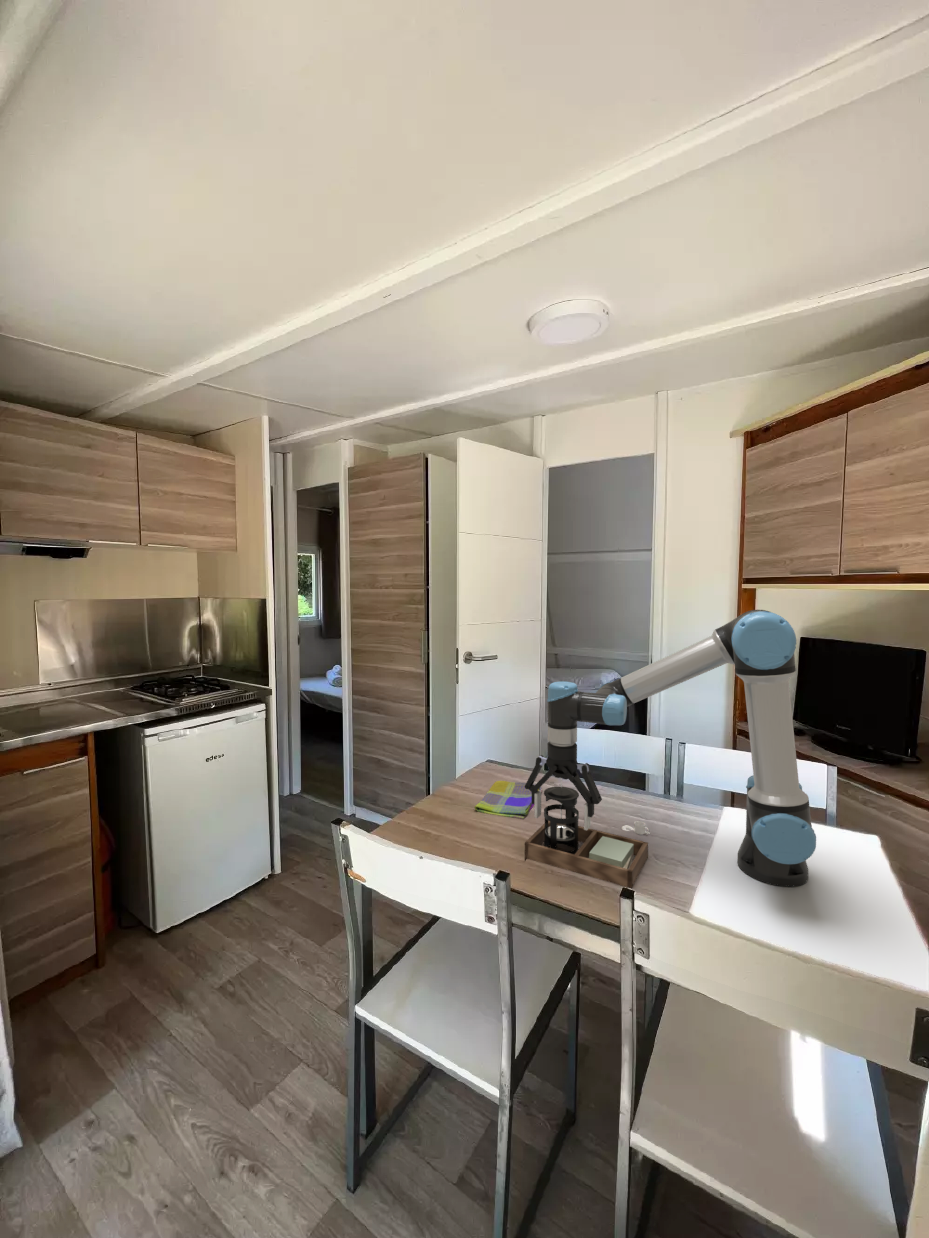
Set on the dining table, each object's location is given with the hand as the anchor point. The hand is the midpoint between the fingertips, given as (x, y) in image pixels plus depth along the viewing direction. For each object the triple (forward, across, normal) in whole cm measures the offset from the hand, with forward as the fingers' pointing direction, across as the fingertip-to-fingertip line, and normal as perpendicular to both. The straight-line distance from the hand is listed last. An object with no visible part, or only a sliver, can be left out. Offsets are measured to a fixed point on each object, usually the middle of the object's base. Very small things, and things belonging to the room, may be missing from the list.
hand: (561, 822), depth 138 cm
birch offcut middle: (+8, -13, 0) cm, 15 cm away
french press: (+9, 0, 0) cm, 9 cm away
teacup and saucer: (+10, -14, -24) cm, 29 cm away
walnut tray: (+9, -7, 0) cm, 11 cm away
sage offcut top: (+6, -13, 0) cm, 14 cm away
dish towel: (+10, +28, -24) cm, 38 cm away
